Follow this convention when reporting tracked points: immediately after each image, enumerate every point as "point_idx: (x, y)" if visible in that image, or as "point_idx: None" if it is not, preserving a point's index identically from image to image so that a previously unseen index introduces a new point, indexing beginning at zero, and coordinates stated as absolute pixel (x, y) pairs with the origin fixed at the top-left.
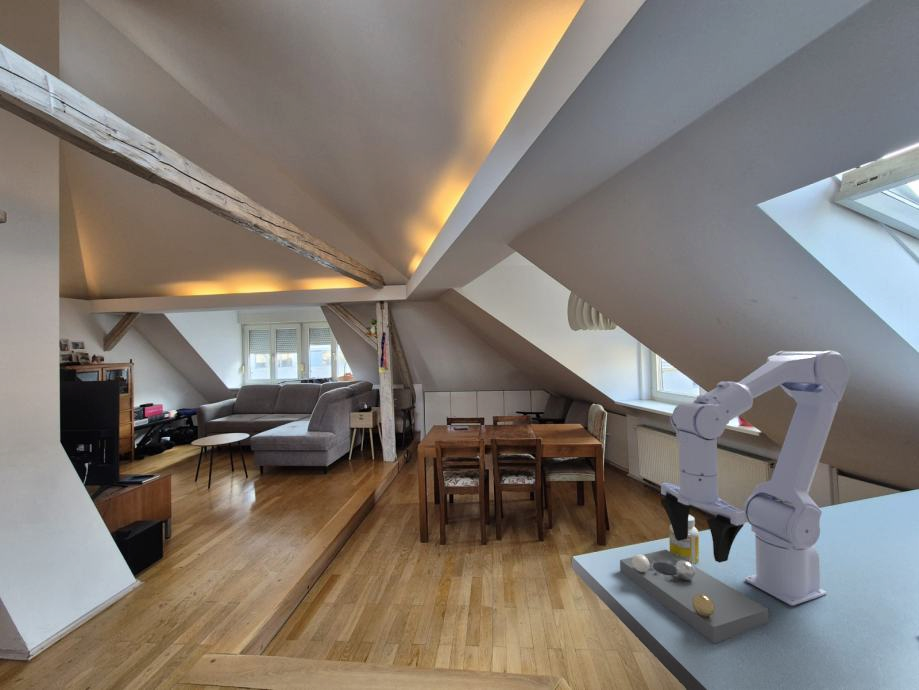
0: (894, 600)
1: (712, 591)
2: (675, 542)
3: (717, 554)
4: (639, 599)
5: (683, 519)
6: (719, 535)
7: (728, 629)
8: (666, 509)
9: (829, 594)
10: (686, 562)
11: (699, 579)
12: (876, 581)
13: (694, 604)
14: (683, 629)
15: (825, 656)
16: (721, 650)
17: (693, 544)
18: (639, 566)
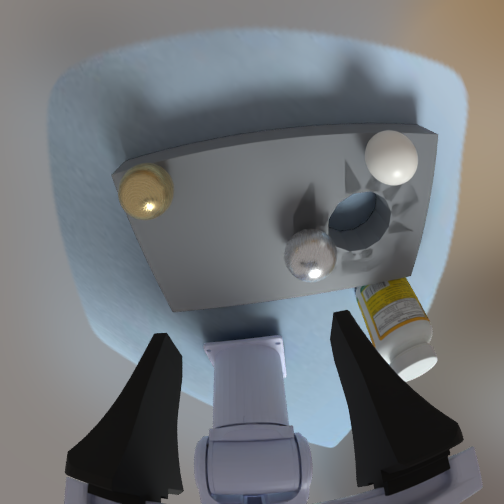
0: None
1: (241, 263)
2: (401, 304)
3: (143, 356)
4: (307, 83)
5: (353, 404)
6: (95, 430)
7: None
8: (420, 412)
9: None
10: (310, 273)
11: None
12: None
13: (143, 166)
14: (173, 120)
15: (116, 302)
16: (109, 162)
17: (372, 330)
18: (378, 137)
